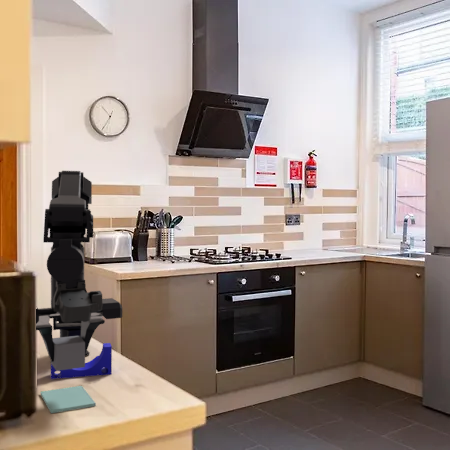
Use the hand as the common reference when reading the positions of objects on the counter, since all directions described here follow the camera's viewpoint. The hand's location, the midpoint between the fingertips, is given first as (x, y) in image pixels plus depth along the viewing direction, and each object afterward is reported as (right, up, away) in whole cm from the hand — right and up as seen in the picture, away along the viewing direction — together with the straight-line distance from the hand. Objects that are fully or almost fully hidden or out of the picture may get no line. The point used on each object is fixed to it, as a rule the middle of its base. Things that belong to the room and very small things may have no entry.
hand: (67, 359), depth 99 cm
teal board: (0, -7, 0) cm, 7 cm away
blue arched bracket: (-2, -7, +15) cm, 17 cm away
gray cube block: (0, -1, 0) cm, 1 cm away
